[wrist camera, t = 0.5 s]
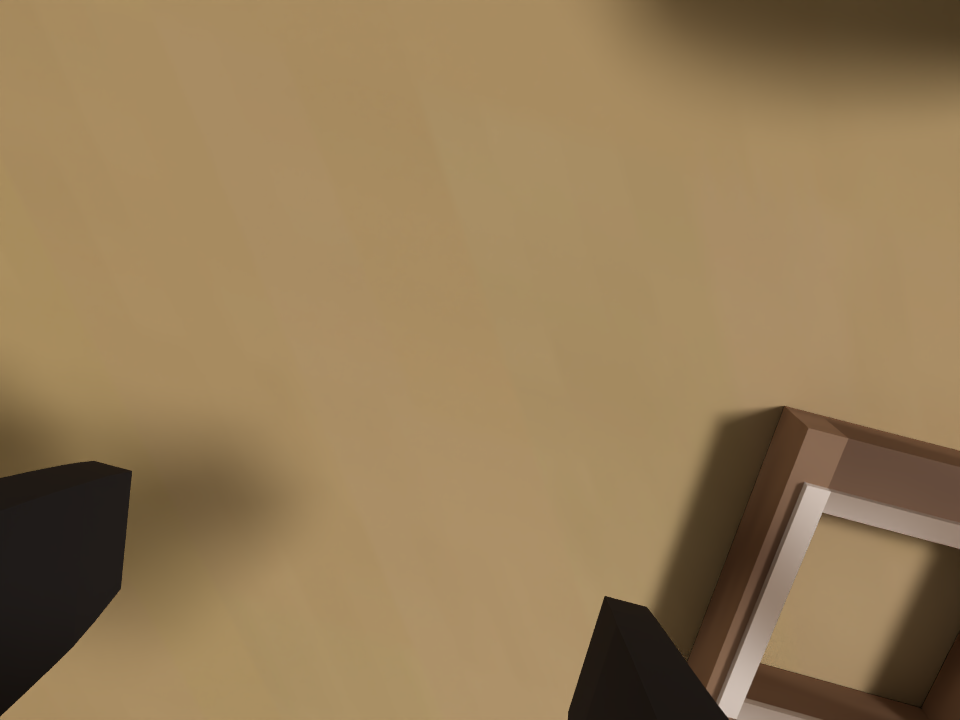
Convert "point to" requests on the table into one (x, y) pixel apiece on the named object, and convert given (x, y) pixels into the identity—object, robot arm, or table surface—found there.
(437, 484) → the table surface
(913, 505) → the brown wooden compartment tray
